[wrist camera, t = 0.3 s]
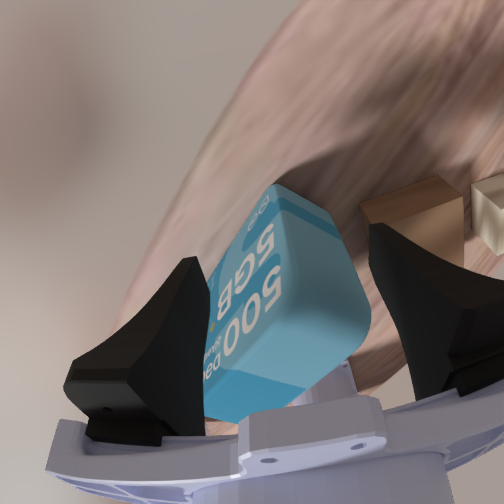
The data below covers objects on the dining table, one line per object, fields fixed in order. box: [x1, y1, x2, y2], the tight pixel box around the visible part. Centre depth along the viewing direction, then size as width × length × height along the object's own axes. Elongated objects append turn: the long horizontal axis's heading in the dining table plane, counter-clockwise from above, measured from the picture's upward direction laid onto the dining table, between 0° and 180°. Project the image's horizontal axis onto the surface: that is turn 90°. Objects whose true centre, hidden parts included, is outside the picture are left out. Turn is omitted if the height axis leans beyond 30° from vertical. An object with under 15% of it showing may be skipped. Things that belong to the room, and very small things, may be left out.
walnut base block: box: [359, 175, 464, 268], centre depth 23 cm, size 8×7×4 cm
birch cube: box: [471, 173, 504, 256], centre depth 20 cm, size 4×4×4 cm
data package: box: [203, 184, 371, 424], centre depth 20 cm, size 12×4×12 cm, turn 150°
